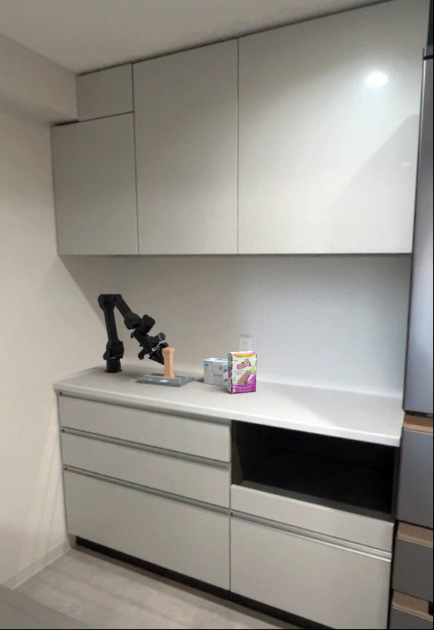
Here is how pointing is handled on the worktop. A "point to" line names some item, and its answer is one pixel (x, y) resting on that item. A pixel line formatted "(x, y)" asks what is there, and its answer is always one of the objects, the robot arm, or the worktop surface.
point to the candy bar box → (242, 372)
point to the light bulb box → (216, 371)
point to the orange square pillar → (168, 362)
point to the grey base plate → (165, 380)
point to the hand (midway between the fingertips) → (165, 364)
